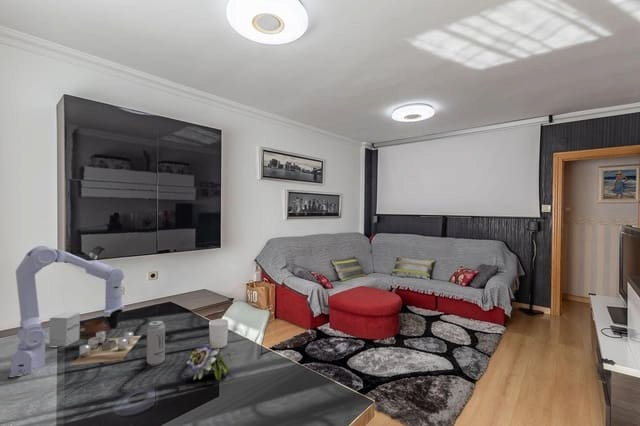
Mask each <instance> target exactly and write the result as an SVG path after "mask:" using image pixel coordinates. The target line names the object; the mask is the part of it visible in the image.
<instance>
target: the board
mask: <svg viewBox="0 0 640 426" xmlns="http://www.w3.org/2000/svg"><path fill="white" fill-rule="evenodd" d="M141 337H142V335H133V343H130V344H128V349H127V350H124V351H118V340H119V339H121V338H124V336H120V337H111V338H110V337H109V338H107V339H109V340H116V348H113V349H111V350H104V351H103V350H102V345H100V346H101V347H100V346H98V348H97V349H95V350H91V355H90V356H89V357H86V358H80V355H78V357H77V358H76V359H75V360H74V361H73V362H72V363H71V364H69V366H76V365H77V366H78V365H86V364H87V365H88V364H95V363H97V364H98V363H105V362H114V361H122V360H124V359H125V357H126V356H127V355H128V353H129V352H130V350H132V348H133V347H134V346H135V345H136V344H137V342H138V341H139V340H140V338H141Z"/></svg>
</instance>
